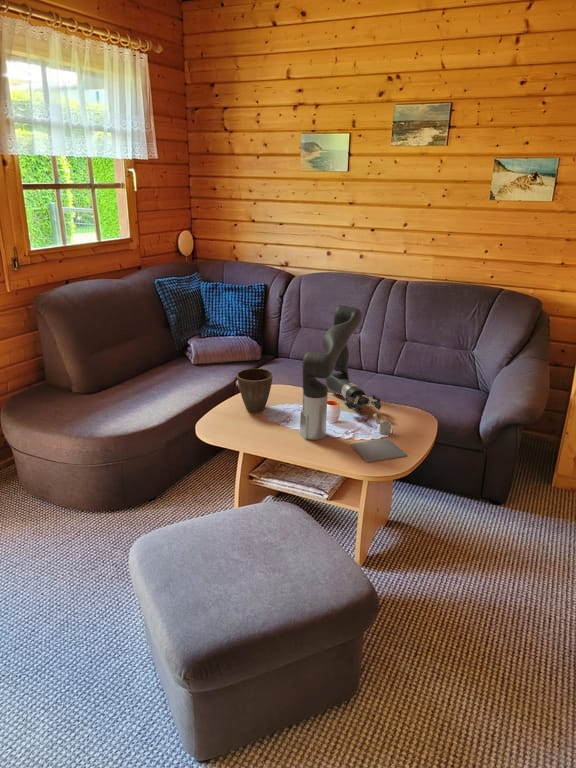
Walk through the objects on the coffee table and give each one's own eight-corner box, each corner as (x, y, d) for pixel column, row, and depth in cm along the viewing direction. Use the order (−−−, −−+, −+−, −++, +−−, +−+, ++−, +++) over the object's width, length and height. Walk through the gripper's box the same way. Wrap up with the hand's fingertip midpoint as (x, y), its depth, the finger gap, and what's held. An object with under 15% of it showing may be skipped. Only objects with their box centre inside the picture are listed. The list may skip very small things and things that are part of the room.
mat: (367, 462, 195) (367, 461, 195) (350, 445, 207) (350, 443, 207) (407, 456, 200) (407, 455, 200) (388, 439, 212) (388, 438, 212)
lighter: (389, 432, 218) (391, 413, 215) (390, 434, 217) (392, 415, 214) (371, 431, 219) (373, 412, 216) (371, 433, 217) (373, 414, 214)
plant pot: (252, 419, 227) (252, 383, 221) (230, 408, 237) (229, 373, 231) (279, 410, 236) (280, 375, 230) (257, 399, 246) (257, 365, 241)
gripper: (338, 387, 235) (354, 402, 221) (368, 384, 239) (386, 398, 225) (337, 403, 238) (353, 419, 224) (367, 400, 242) (385, 414, 228)
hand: (370, 408), depth 224 cm, fingers open, 8 cm apart
